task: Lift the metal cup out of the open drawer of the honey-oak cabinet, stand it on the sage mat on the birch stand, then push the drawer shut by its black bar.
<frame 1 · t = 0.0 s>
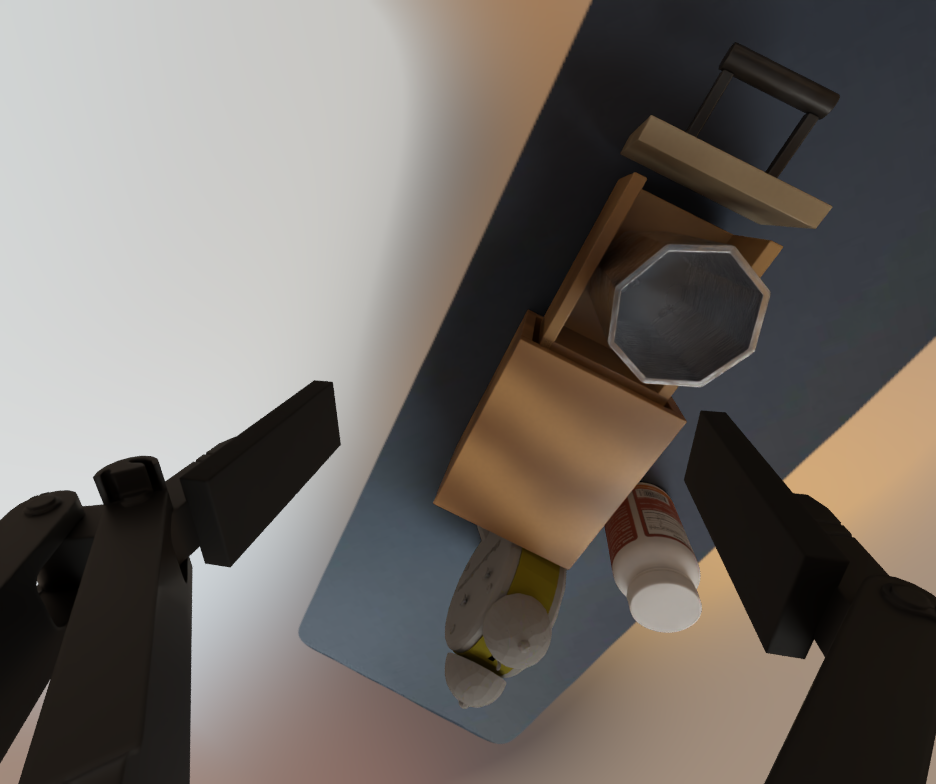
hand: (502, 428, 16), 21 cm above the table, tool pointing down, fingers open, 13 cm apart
metal cup: (638, 279, 30), point 2 cm above the table, touching drawer
cabinet: (548, 413, 38), on the table
drawer: (673, 238, 27), point 4 cm above the table, slide at 12.0 cm, touching metal cup
pill bottle: (636, 506, 40), on the table
alarm clock: (504, 528, 44), on the table
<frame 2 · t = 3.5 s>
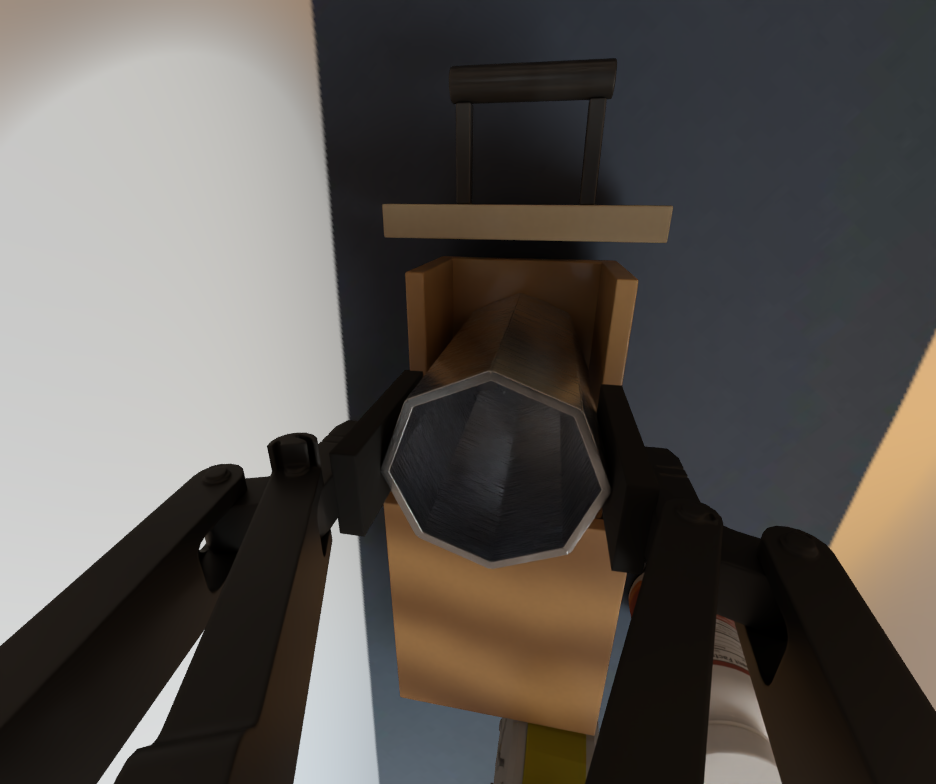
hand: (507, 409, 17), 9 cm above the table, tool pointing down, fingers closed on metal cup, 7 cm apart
metal cup: (520, 354, 24), point 2 cm above the table, touching drawer, gripper
cabinet: (512, 521, 31), on the table
drawer: (520, 306, 20), point 4 cm above the table, slide at 12.0 cm, touching metal cup
pill bottle: (672, 591, 31), on the table
alarm clock: (533, 655, 36), on the table
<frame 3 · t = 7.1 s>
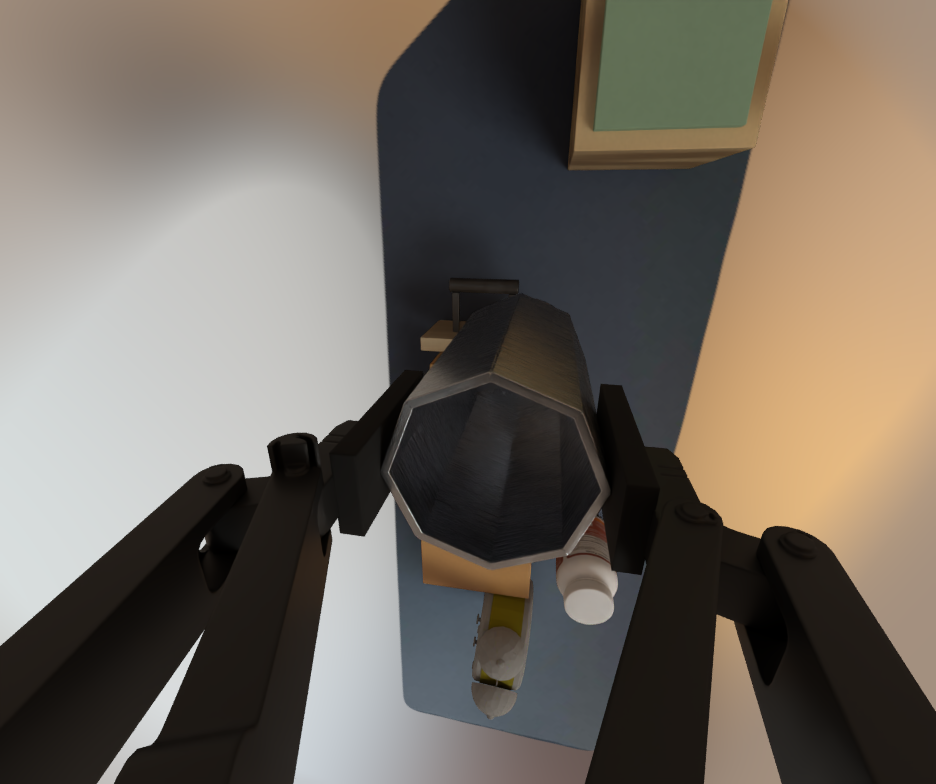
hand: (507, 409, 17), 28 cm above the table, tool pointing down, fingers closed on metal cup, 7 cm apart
metal cup: (519, 355, 24), point 21 cm above the table, touching gripper
cabinet: (487, 488, 52), on the table
mat: (681, 20, 23), resting on stand
drawer: (483, 374, 42), point 4 cm above the table, slide at 12.0 cm
pill bottle: (581, 529, 52), on the table
stand: (638, 85, 35), on the table
alarm clock: (503, 575, 57), on the table
when the fingers open (21 cm above the table, at t = 11.1 s): metal cup stays where it is, resting on mat.
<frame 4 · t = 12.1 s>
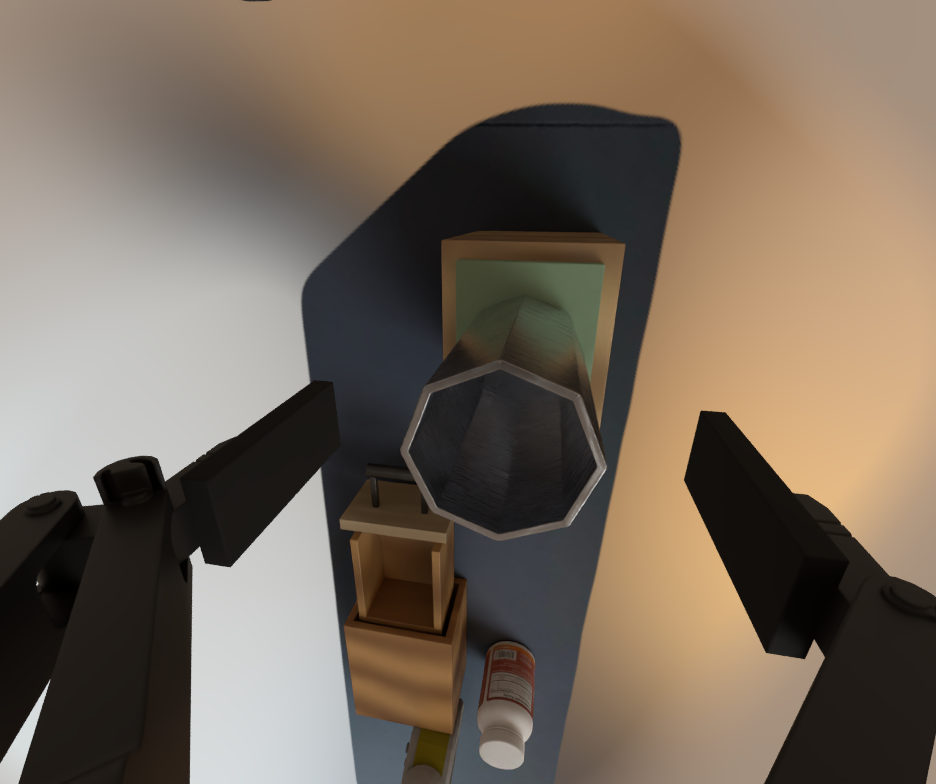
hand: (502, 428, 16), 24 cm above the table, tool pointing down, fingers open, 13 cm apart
metal cup: (523, 352, 25), point 14 cm above the table, touching mat
cabinet: (421, 615, 55), on the table
mat: (523, 347, 26), resting on stand
drawer: (405, 538, 45), point 4 cm above the table, slide at 12.0 cm
pill bottle: (511, 654, 55), on the table
stand: (533, 304, 38), on the table
alarm clock: (442, 687, 60), on the table
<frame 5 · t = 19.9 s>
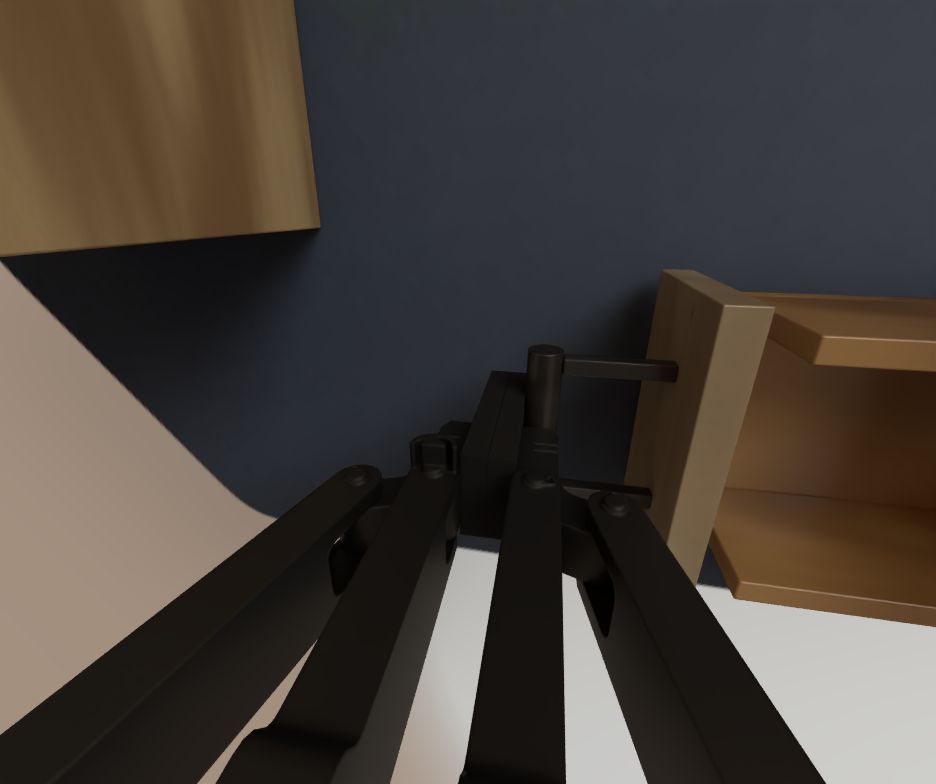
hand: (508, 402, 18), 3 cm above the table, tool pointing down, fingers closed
drawer: (787, 438, 15), point 4 cm above the table, slide at 11.0 cm, touching gripper
stand: (176, 101, 19), on the table
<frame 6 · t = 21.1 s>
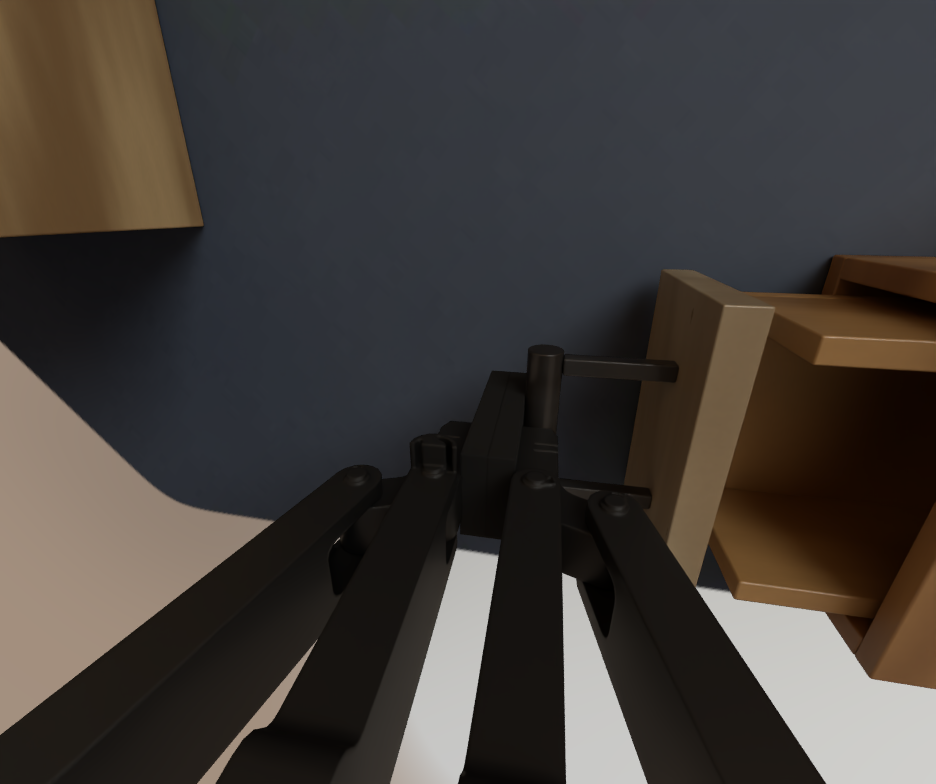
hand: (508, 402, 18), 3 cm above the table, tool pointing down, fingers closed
drawer: (788, 438, 15), point 4 cm above the table, slide at 5.0 cm, touching gripper
stand: (60, 105, 19), on the table
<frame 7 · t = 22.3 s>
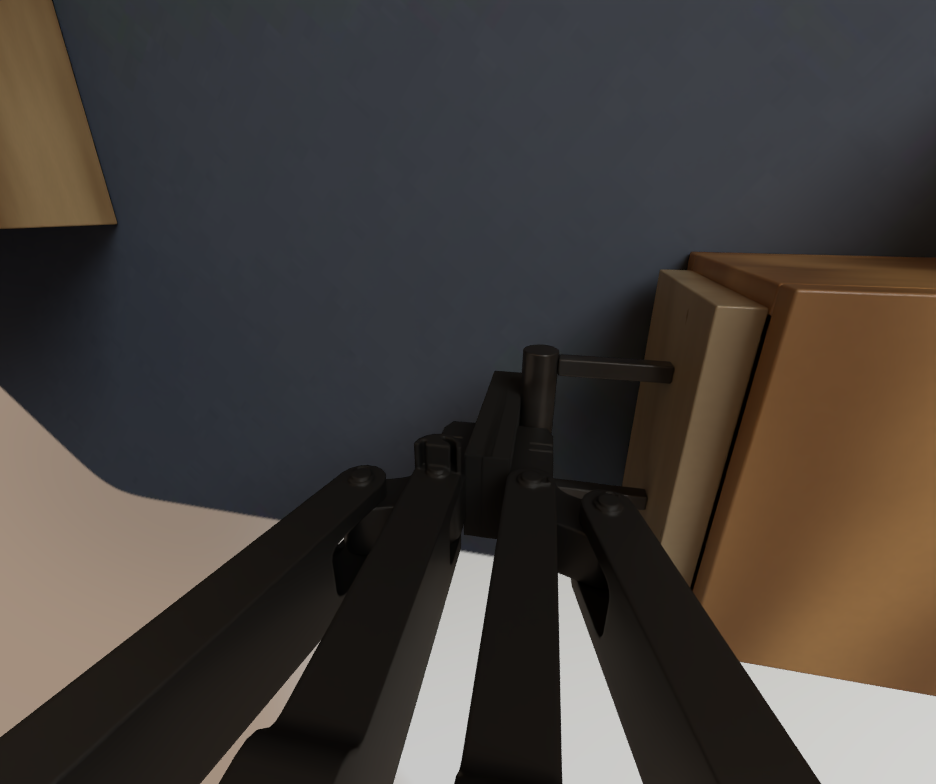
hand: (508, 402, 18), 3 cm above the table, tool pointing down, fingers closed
cabinet: (847, 400, 18), on the table
drawer: (785, 441, 15), point 4 cm above the table, slide at 0.0 cm, touching cabinet, gripper
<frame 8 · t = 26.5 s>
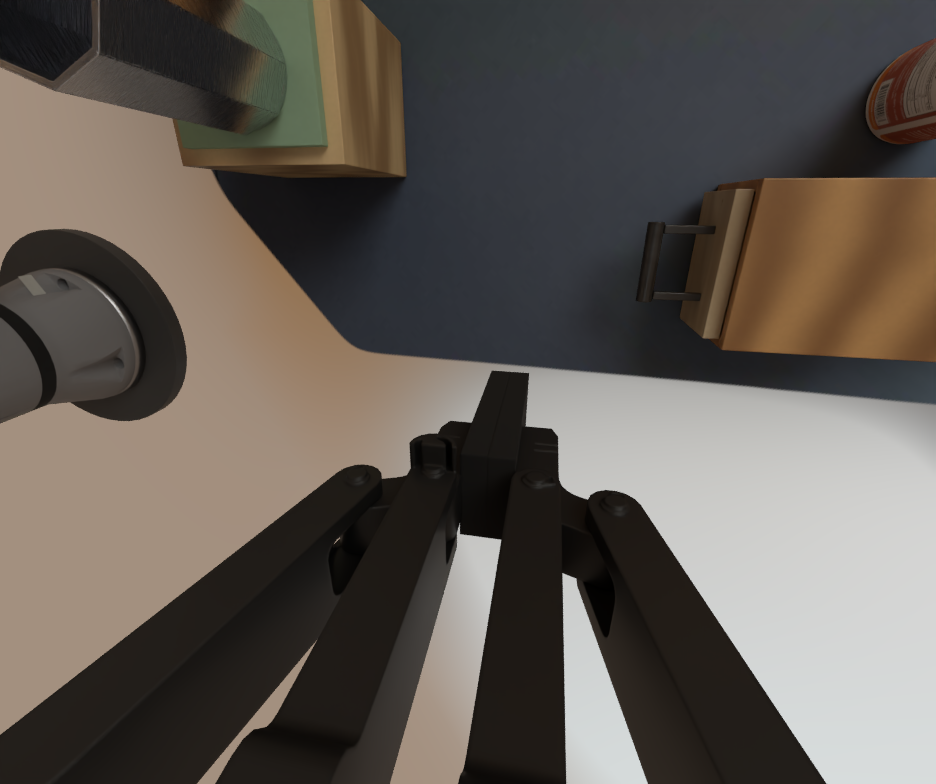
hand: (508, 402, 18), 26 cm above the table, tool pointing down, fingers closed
metal cup: (238, 71, 26), point 14 cm above the table, touching mat
cabinet: (794, 259, 37), on the table
mat: (246, 75, 27), resting on stand
drawer: (763, 264, 34), point 4 cm above the table, slide at 0.0 cm, touching cabinet
pill bottle: (909, 97, 32), on the table
stand: (339, 115, 39), on the table
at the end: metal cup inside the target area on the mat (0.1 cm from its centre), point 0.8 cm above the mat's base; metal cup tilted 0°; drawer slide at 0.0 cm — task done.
